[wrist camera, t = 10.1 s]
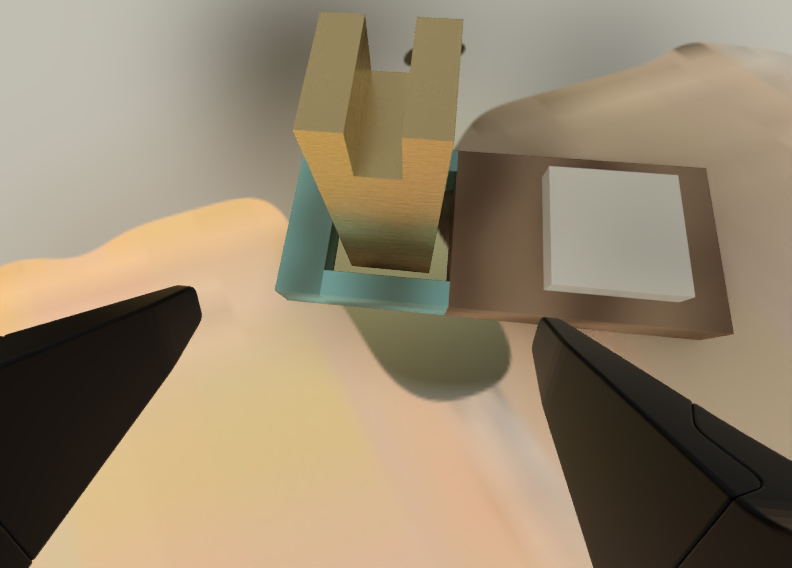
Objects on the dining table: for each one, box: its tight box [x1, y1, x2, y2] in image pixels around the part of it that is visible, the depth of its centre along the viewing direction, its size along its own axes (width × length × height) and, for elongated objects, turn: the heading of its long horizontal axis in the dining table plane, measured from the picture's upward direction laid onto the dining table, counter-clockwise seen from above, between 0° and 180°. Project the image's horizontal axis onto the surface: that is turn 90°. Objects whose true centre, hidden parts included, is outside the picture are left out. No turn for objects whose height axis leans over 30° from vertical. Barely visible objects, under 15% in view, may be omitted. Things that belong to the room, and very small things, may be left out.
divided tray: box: [275, 151, 734, 340], centre depth 19 cm, size 22×9×3 cm, turn 84°
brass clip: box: [293, 12, 463, 273], centre depth 15 cm, size 4×4×11 cm
